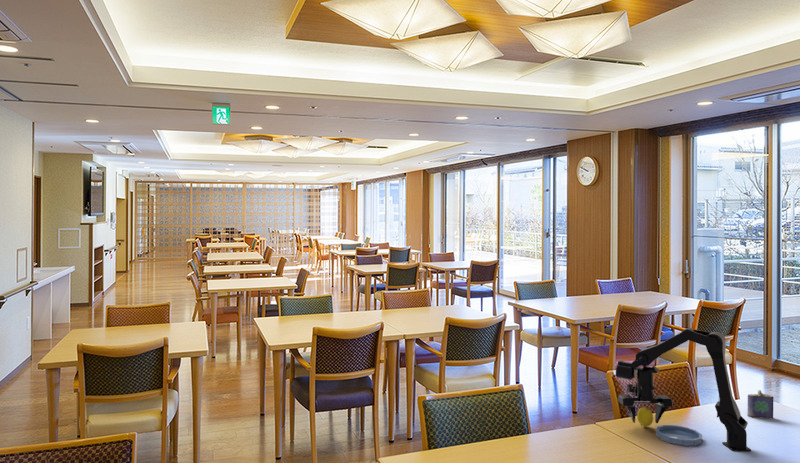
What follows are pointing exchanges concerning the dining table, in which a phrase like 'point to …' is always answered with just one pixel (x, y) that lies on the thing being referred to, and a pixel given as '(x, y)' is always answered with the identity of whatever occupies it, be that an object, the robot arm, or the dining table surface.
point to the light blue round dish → (679, 435)
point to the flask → (760, 405)
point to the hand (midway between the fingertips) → (645, 422)
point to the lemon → (645, 416)
